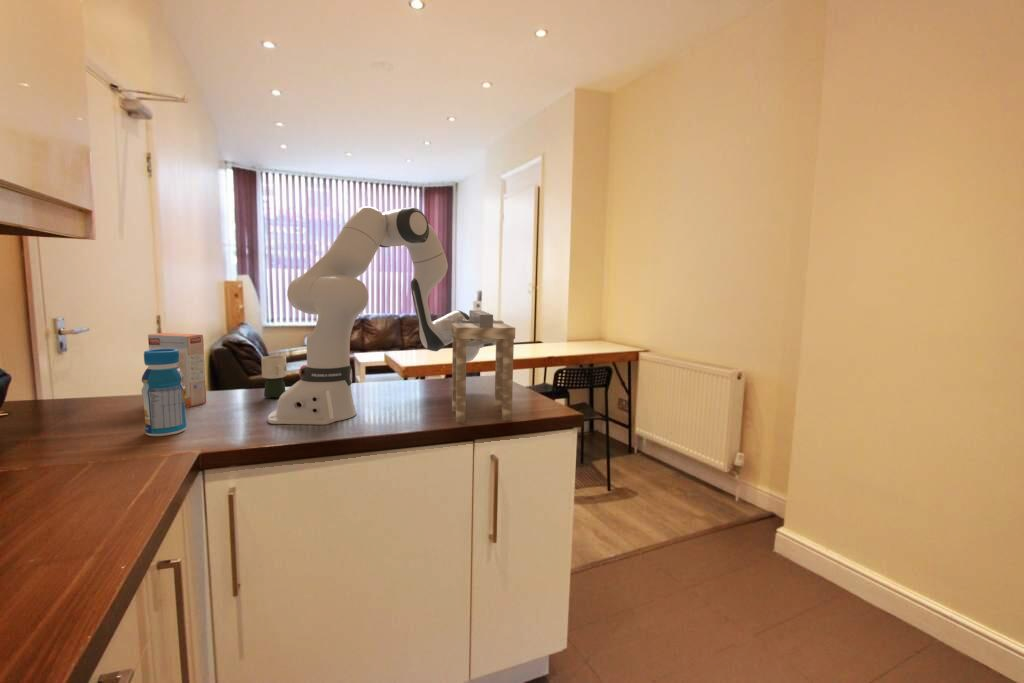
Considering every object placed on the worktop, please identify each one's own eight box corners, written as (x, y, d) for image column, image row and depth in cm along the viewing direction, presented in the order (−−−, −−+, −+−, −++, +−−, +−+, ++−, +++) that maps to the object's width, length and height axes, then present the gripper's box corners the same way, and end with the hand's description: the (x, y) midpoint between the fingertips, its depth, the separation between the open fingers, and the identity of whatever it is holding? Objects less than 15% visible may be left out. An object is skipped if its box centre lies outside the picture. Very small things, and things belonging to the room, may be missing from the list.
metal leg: (479, 327, 127) (480, 314, 126) (469, 321, 148) (469, 310, 148) (492, 327, 127) (493, 314, 127) (480, 321, 149) (480, 310, 148)
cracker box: (207, 403, 142) (204, 334, 140) (190, 408, 137) (186, 336, 134) (170, 399, 146) (166, 331, 143) (151, 404, 140) (146, 333, 137)
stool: (455, 422, 128) (456, 327, 125) (450, 409, 142) (451, 323, 139) (513, 420, 132) (515, 327, 129) (503, 407, 145) (504, 323, 142)
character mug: (292, 398, 150) (291, 358, 148) (268, 402, 145) (267, 360, 144) (281, 392, 158) (279, 354, 156) (257, 395, 153) (256, 356, 151)
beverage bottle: (165, 438, 110) (160, 353, 108) (135, 435, 112) (129, 351, 109) (196, 428, 118) (191, 349, 116) (167, 425, 120) (162, 347, 118)
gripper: (438, 327, 157) (441, 308, 145) (498, 328, 162) (506, 309, 149) (439, 344, 155) (442, 327, 143) (500, 345, 159) (508, 327, 147)
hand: (475, 318), depth 146 cm, fingers open, 8 cm apart
